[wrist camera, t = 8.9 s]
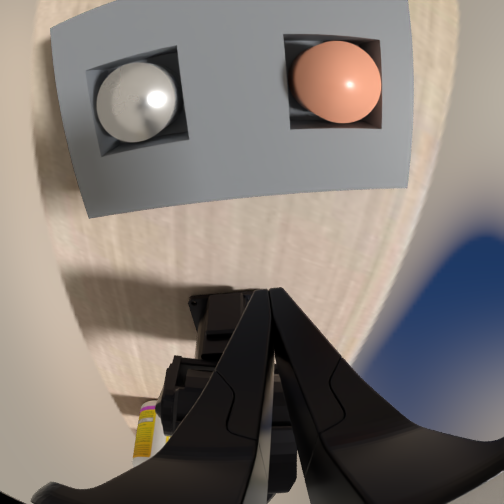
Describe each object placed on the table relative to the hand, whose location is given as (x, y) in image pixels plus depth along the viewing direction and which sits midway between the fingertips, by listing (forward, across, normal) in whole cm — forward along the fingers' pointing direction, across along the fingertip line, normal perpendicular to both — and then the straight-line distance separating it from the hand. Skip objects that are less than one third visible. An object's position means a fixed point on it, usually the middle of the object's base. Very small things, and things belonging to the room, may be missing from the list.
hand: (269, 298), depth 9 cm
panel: (+12, 0, -6) cm, 13 cm away
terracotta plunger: (+10, -4, -6) cm, 13 cm away
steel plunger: (+11, +6, -6) cm, 14 cm away
